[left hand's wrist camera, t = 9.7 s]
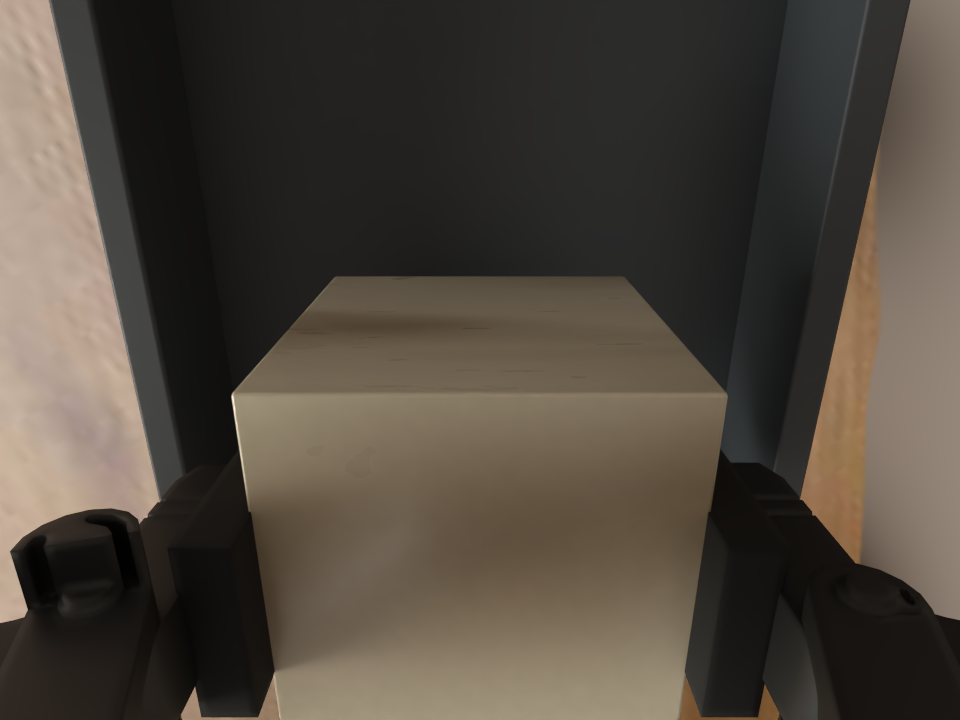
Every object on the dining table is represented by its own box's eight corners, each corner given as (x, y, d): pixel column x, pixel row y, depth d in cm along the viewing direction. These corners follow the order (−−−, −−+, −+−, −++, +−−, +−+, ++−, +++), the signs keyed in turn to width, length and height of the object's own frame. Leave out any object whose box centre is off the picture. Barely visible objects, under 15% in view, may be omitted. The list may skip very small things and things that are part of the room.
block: (605, 521, 15) (676, 753, 10) (354, 521, 15) (283, 753, 10) (625, 275, 13) (729, 394, 8) (334, 275, 13) (228, 393, 8)
